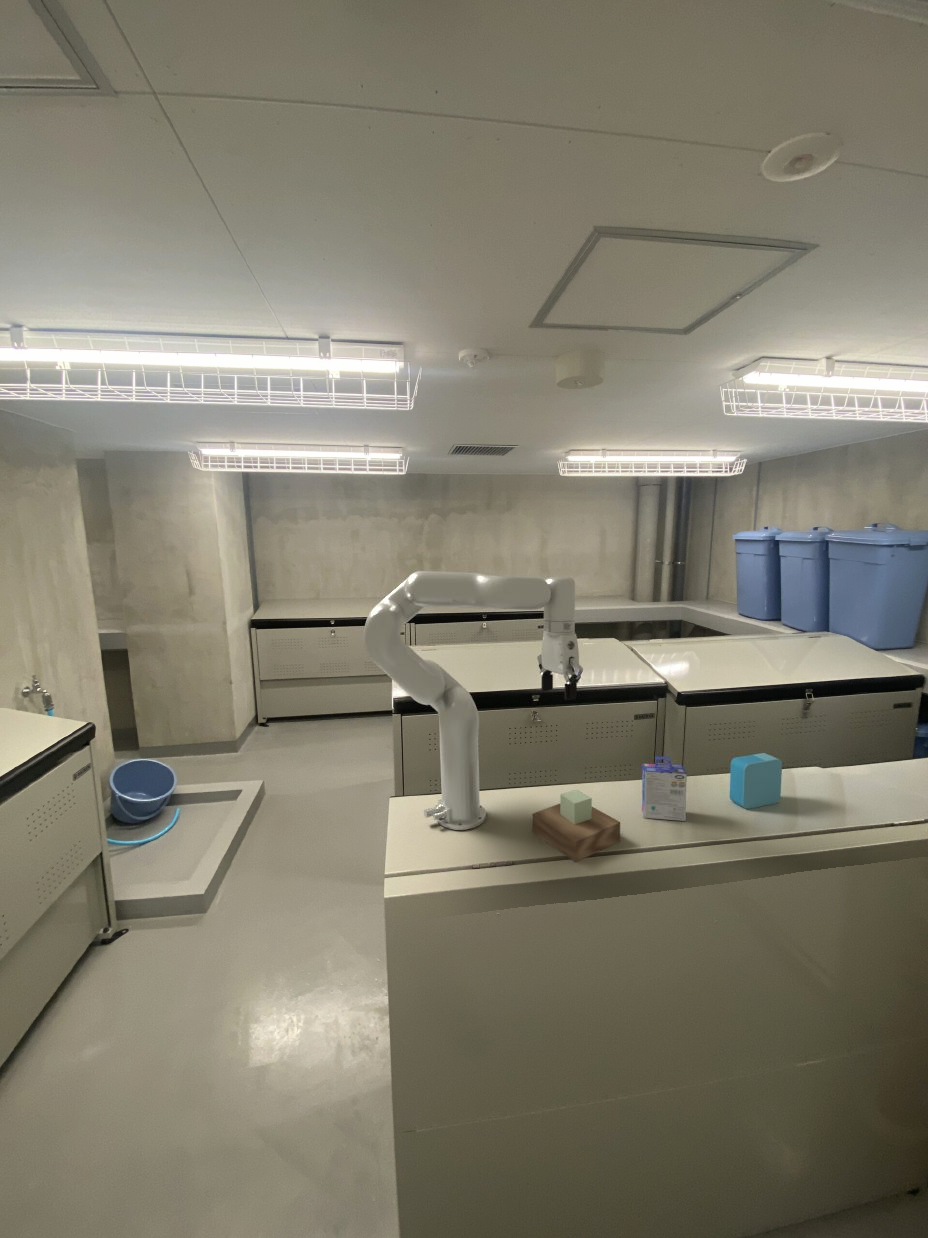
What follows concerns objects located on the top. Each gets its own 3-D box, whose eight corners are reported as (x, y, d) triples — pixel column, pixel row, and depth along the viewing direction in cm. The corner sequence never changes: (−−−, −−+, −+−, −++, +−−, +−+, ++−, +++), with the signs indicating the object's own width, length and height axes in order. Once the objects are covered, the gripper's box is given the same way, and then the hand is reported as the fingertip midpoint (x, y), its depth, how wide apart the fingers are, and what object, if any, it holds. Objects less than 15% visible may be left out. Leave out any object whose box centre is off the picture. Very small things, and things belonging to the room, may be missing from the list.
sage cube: (574, 824, 107) (574, 803, 106) (560, 814, 111) (560, 794, 111) (591, 818, 109) (591, 798, 108) (577, 809, 113) (577, 789, 113)
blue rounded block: (765, 795, 127) (767, 752, 126) (780, 803, 123) (782, 758, 121) (728, 802, 124) (730, 757, 122) (743, 810, 119) (744, 764, 118)
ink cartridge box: (681, 810, 120) (682, 755, 119) (687, 822, 115) (688, 764, 113) (640, 807, 122) (641, 753, 121) (644, 818, 117) (645, 762, 115)
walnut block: (575, 864, 101) (575, 842, 100) (532, 833, 112) (532, 813, 112) (620, 842, 108) (620, 822, 107) (575, 816, 120) (575, 797, 119)
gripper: (594, 630, 111) (593, 701, 113) (551, 622, 127) (550, 685, 128) (568, 632, 108) (567, 705, 110) (527, 624, 123) (527, 688, 125)
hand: (558, 694), depth 119 cm, fingers open, 9 cm apart
